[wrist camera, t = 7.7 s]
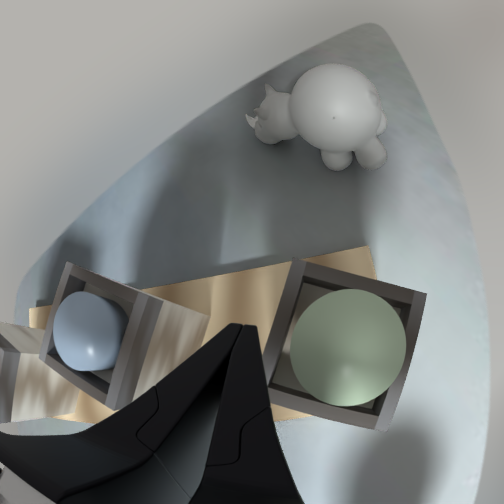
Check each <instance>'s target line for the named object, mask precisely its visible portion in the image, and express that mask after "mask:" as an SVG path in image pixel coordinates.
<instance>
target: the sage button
mask: <svg viewBox="0 0 504 504" xmlns="http://www.w3.org/2000/svg"><path fill="white" fill-rule="evenodd" d="M405 354H406V336H405V331H404V328H403V324H402V322H401V320H400V318H399V316H398V315H397V313H396V311H395V310H394V309H393V308H392V307H391V305H389V304H388V303H387V302H386V301H385V300H383V299H382V298H381V297H379V296H377V295H375V294H373V293H370V292H367V291H364V290H359V289H343V290H338V291H334V292H331V293H328V294H326V295H324V296H322V297H321V298H319V299H318V300H316V301H315V302H313V303H312V304H311V305H310V306H309V307H308V308H307V309H306V310H305V311H304V312H303V314H302V315H301V317H300V318H299V320H298V322H297V323H296V325H295V328H294V331H293V334H292V338H291V344H290V358H291V364H292V367H293V371H294V373H295V375H296V377H297V379H298V381H299V382H300V384H301V385H302V386H303V387H304V389H305V390H306V391H308V392H309V393H310V394H311V395H312V396H314V397H315V398H317V399H319V400H321V401H323V402H325V403H328V404H331V405H336V406H354V405H359V404H363V403H366V402H368V401H370V400H372V399H374V398H376V397H378V396H379V395H381V394H382V393H383V392H384V391H385V390H387V389H388V388H389V387H390V385H391V384H392V383H393V382H394V380H395V379H396V377H397V376H398V374H399V372H400V370H401V368H402V365H403V362H404V359H405Z"/></svg>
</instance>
